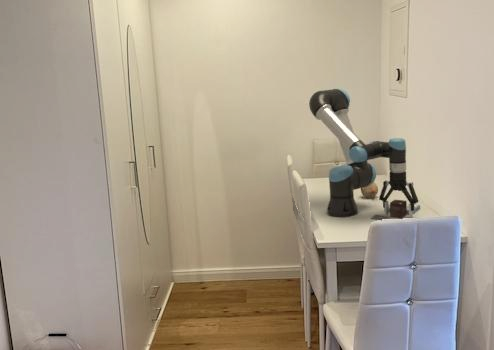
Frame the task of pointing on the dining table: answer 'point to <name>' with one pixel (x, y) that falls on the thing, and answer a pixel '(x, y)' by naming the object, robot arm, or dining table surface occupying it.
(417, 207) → the ticket board
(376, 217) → the stub mat
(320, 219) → the dining table surface
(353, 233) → the dining table surface
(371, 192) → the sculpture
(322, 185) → the dining table surface
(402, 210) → the box
